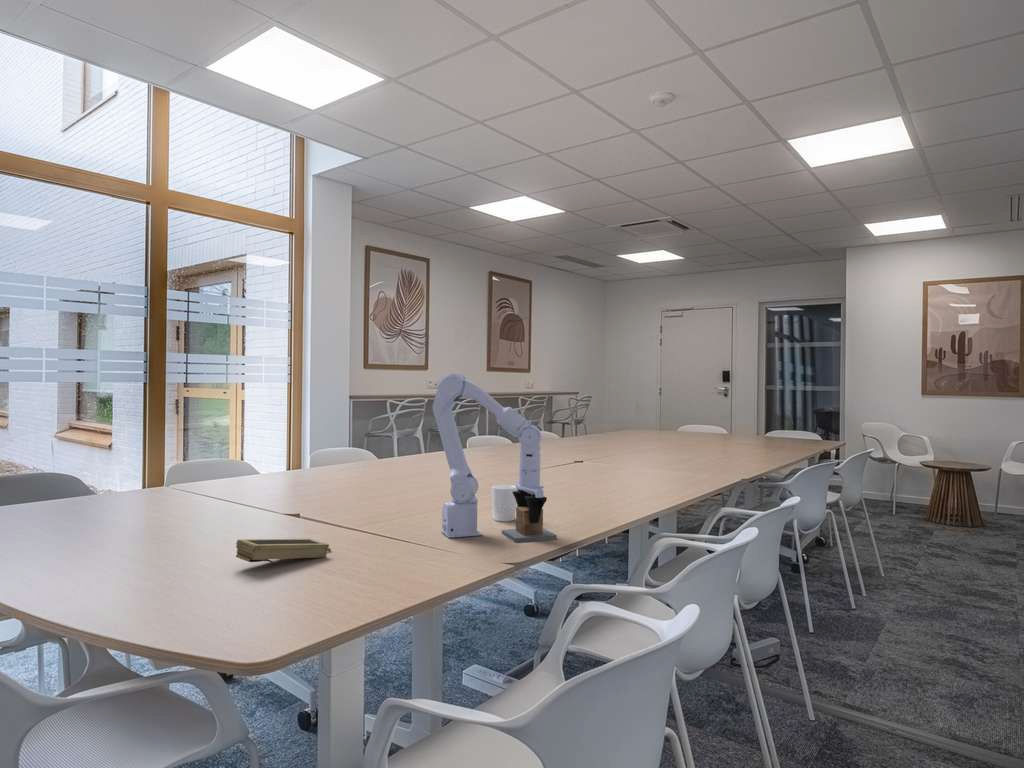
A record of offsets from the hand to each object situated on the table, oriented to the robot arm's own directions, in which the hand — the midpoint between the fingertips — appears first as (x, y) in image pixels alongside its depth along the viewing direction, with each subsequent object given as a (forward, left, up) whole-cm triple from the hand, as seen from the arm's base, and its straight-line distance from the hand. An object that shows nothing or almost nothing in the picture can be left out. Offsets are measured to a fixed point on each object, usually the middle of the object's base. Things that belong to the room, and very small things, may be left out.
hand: (528, 519), depth 169 cm
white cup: (+1, +22, -5) cm, 23 cm away
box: (-62, -5, -5) cm, 62 cm away
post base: (0, 0, -5) cm, 5 cm away
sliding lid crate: (0, 0, -4) cm, 4 cm away
